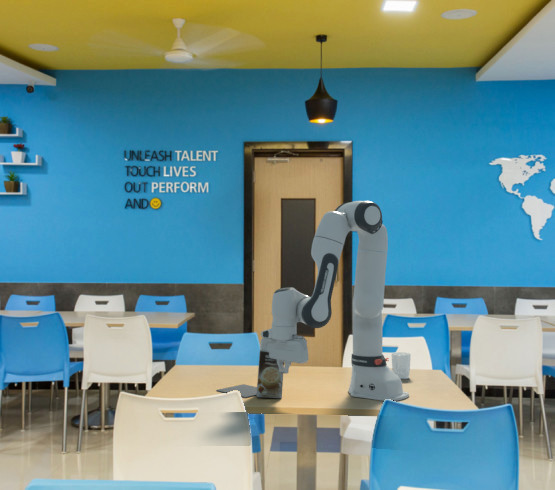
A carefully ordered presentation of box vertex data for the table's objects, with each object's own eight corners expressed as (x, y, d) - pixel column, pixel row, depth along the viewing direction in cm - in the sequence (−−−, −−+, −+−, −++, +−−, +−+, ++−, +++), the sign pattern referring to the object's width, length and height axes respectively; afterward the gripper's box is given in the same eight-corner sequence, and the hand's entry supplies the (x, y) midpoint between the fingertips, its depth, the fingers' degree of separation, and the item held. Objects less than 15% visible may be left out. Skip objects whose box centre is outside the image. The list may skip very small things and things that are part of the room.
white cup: (391, 378, 243) (391, 354, 243) (391, 375, 251) (391, 351, 251) (410, 379, 241) (410, 355, 241) (410, 376, 249) (410, 352, 249)
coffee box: (256, 397, 207) (259, 351, 208) (256, 393, 213) (258, 349, 214) (282, 398, 207) (284, 352, 208) (281, 395, 213) (283, 350, 214)
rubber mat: (272, 391, 219) (272, 390, 219) (245, 398, 208) (245, 397, 208) (243, 385, 230) (243, 384, 230) (216, 390, 219) (216, 389, 220)
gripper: (312, 335, 201) (312, 376, 200) (269, 330, 215) (269, 368, 214) (300, 337, 196) (300, 378, 196) (257, 331, 210) (257, 370, 210)
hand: (283, 373), depth 205 cm, fingers closed
